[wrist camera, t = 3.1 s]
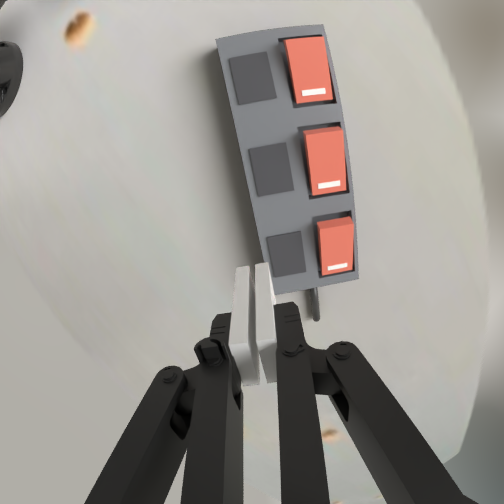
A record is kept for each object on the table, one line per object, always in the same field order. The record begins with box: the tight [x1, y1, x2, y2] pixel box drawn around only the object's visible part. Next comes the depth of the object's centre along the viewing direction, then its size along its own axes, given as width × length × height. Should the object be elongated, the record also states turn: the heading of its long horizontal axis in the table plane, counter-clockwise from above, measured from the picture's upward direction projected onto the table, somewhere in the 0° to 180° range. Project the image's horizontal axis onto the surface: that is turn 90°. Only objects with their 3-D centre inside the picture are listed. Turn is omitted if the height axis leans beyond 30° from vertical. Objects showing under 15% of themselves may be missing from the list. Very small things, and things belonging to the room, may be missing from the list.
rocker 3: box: [317, 216, 354, 275], centre depth 38 cm, size 4×8×2 cm, turn 11°
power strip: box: [216, 24, 359, 321], centre depth 38 cm, size 13×44×4 cm, turn 11°
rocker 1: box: [283, 36, 333, 104], centre depth 29 cm, size 4×8×2 cm, turn 11°
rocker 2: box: [303, 126, 346, 195], centre depth 34 cm, size 4×8×2 cm, turn 11°
